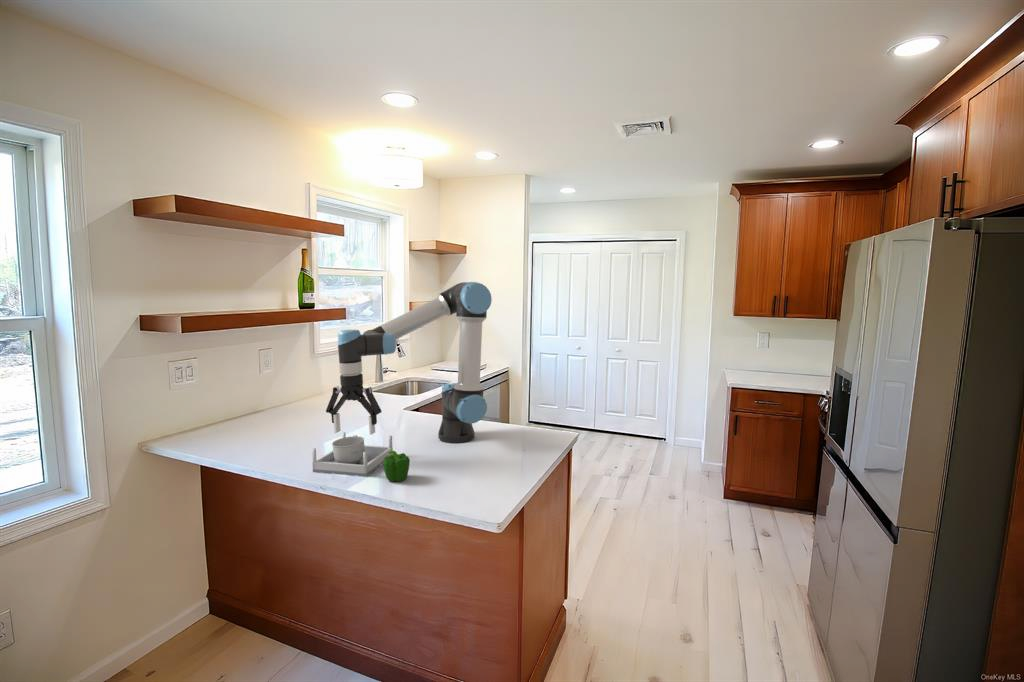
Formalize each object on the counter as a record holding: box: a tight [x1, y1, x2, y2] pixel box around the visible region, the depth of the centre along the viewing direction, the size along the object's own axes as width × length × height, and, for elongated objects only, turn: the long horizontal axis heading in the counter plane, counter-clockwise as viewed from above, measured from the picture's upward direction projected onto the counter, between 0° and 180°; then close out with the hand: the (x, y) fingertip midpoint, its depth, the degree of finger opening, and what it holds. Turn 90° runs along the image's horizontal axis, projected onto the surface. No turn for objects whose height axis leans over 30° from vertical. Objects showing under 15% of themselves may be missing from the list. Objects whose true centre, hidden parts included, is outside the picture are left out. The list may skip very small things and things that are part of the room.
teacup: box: [331, 434, 365, 464], centre depth 177 cm, size 14×11×8 cm
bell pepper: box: [383, 450, 411, 482], centre depth 163 cm, size 8×8×10 cm
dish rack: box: [311, 431, 394, 477], centre depth 177 cm, size 20×20×8 cm
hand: (354, 432), depth 177 cm, fingers open, 13 cm apart
